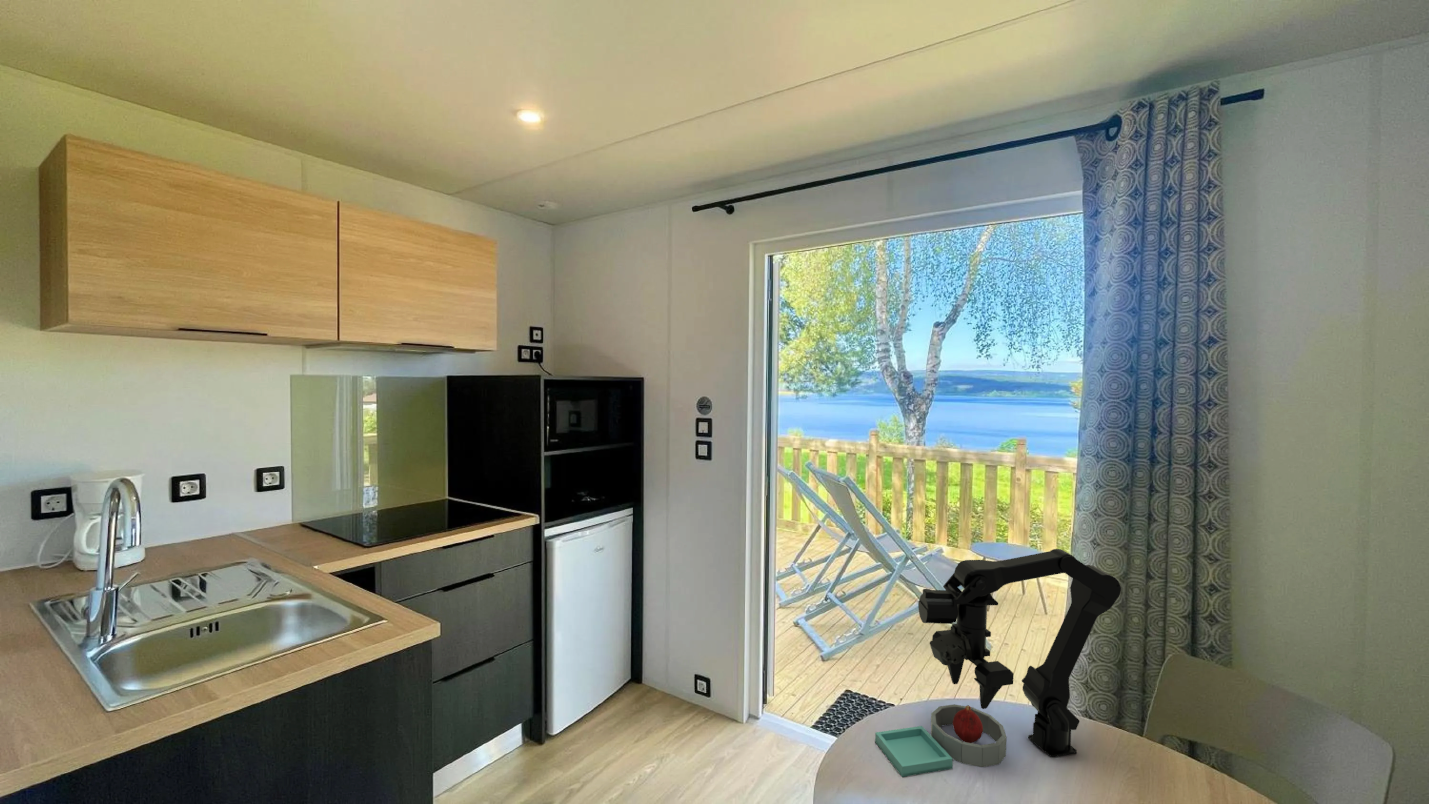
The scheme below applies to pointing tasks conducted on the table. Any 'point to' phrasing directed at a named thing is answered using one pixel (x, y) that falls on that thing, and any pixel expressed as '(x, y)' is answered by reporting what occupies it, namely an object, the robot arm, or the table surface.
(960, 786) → the table surface
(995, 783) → the table surface
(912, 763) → the tray
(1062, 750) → the robot arm
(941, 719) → the ring
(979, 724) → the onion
